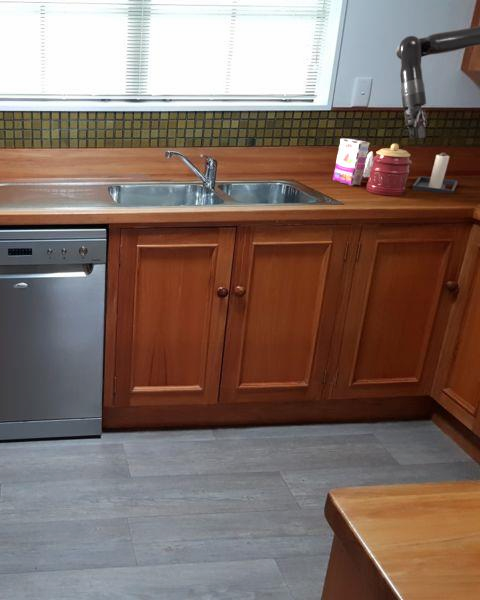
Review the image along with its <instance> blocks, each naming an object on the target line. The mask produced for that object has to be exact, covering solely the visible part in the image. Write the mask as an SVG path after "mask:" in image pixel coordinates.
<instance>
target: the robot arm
mask: <svg viewBox="0 0 480 600" xmlns="http://www.w3.org/2000/svg"><path fill="white" fill-rule="evenodd" d="M475 46H480V25H478V26H474V27H468V28H462V29H454V30H449V31H442V32H436V33H432V34H430V35H428V36H425V37H420V38H418V37H417V36H415V35H408V36H406V37H404V38H403V39H402V40H401V41H400V42H399V44H398V45H397V47H396V50H395V54H396V56H397V58H398V59H400V62H401V63H400V64H401V67H400V71H399V74H400V75H399V76H400V85H401V87H400V93H401V102H402V110H404V111H403V112H404V123H405V127H407V129H408V133H409V134H408V135H409V139H416V138H417V137H418V139H424V138H426V126H428V120H427V112H426V109H422V107H423V106H426V104H427V97H426V90H425V89H426V88H425V82H424V77H423V68H422V58H423V57H426V56H431V55H438V54H446V53H450V52H456V51H460V50H463V49H467V48H470V47H475Z"/></svg>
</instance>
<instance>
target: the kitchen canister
mask: <svg viewBox="0 0 480 600" xmlns="http://www.w3.org/2000/svg"><path fill="white" fill-rule="evenodd" d="M375 153H376V155H375V156H373V158H372V160H373V165H372V166H371V167H370V168H371V170H370V174H369V177H368V178H367V179H368V180H367V183H366V189H365V190H366V191H367V192H369V193H371V194H375V195H381V196H389V197H390V196H391V197H395V196H403V195H404V193H405V191H406V185H407V181H408V178H409V177H408V176H409V173H410V170H409V169H410V165H411V164H412V160H410V157H411V154H410V153H409V152H408V150H405V149H400V145H399V144H398V143H392V144H391V145H390V148H385V147H384V148H380V149H379V150H377V151H376V152H375Z"/></svg>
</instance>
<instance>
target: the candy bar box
mask: <svg viewBox="0 0 480 600" xmlns="http://www.w3.org/2000/svg"><path fill="white" fill-rule="evenodd" d="M370 145H371V142H368V141H364V140H359V139H354V138H340V140H339V146H338V150H337V156H336V161H335V166H334V171H333V175H332V181H335V182H337V183H341V184H344V185H346V186H347V185H348V186H352V187H354V186H355V187H356V186H362V183H363V179H362V178H363V173H364V168H365V164H366V159H367V155H368V154H369V150H370Z"/></svg>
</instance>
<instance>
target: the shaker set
mask: <svg viewBox="0 0 480 600" xmlns="http://www.w3.org/2000/svg"><path fill="white" fill-rule="evenodd" d="M373 157H374V152H373V151H370V152H368V155H367V159H366V164H365V168H364V173H363V178H362V180H365V179H366V180H367V179H369V174H370V170H371V168H370V167H371V166H372V165H373V160H372V158H373Z"/></svg>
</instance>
